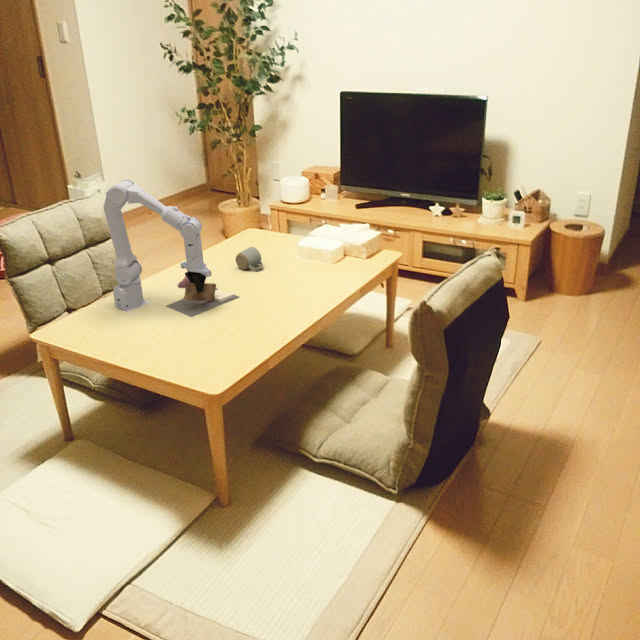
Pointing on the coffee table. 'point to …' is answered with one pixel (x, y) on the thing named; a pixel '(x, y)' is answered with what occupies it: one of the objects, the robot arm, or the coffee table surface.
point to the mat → (196, 306)
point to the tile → (222, 296)
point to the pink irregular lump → (183, 283)
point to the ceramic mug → (249, 259)
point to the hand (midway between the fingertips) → (198, 291)
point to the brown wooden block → (203, 296)
